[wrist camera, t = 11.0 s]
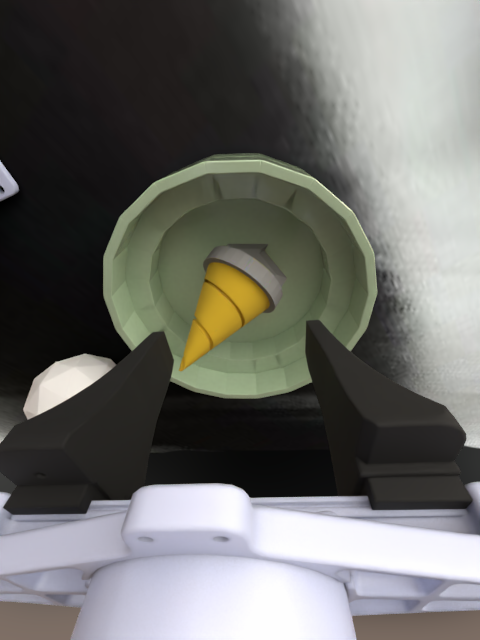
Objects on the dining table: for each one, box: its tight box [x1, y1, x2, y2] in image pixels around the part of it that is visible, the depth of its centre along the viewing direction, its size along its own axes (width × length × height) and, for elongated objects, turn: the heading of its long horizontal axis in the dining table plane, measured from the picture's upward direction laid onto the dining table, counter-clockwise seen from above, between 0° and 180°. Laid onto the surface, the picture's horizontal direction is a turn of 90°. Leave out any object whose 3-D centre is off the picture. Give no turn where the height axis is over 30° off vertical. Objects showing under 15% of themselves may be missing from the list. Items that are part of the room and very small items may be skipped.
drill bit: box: [179, 244, 287, 371], centre depth 17 cm, size 5×5×10 cm
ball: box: [23, 354, 116, 419], centre depth 23 cm, size 8×8×8 cm
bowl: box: [103, 153, 377, 399], centre depth 18 cm, size 16×16×5 cm
